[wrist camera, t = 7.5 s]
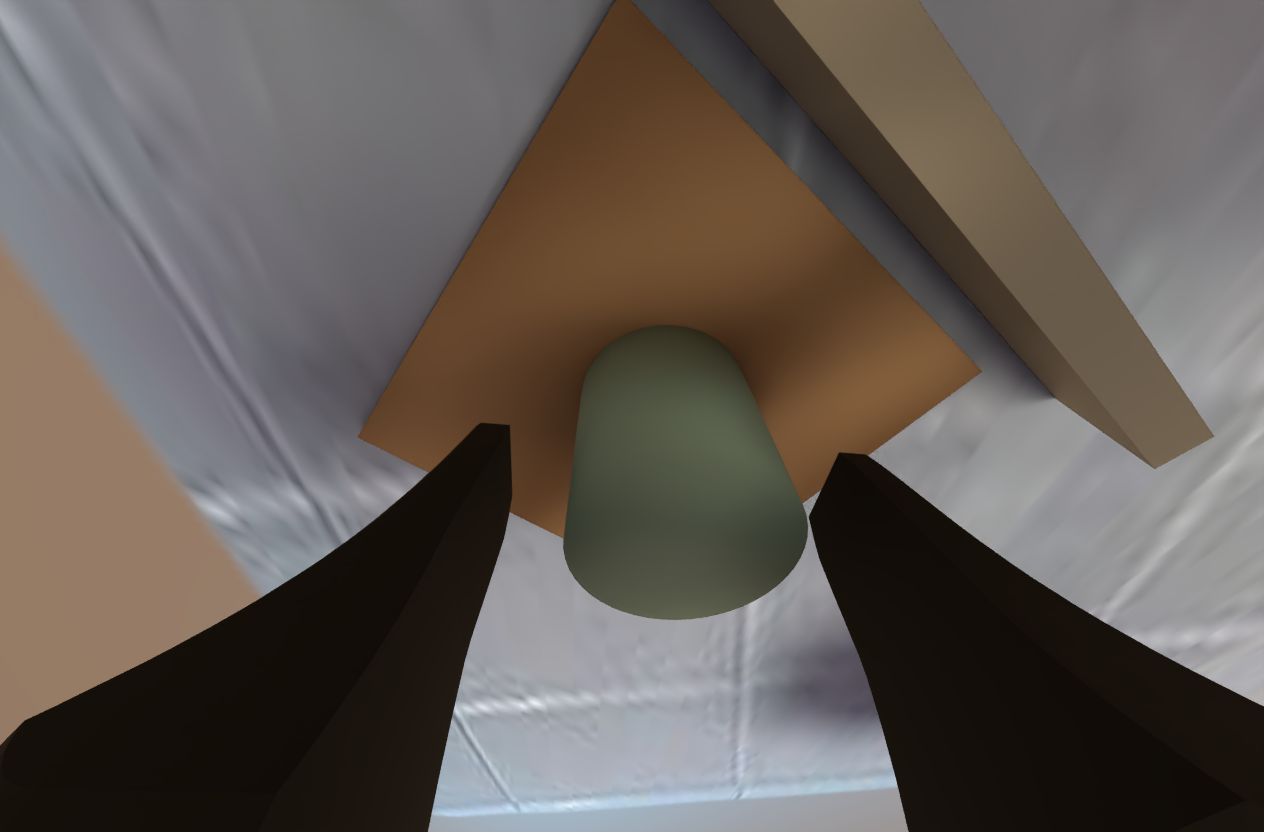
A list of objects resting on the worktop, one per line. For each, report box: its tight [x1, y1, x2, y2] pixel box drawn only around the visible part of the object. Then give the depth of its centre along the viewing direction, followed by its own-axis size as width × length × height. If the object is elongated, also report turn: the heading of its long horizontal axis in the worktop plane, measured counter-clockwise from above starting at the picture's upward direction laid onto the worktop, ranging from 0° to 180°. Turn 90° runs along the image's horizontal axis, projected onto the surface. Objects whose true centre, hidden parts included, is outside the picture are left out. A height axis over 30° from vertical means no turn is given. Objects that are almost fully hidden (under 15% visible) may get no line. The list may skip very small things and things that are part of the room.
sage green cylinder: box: [563, 325, 808, 620], centre depth 11 cm, size 4×4×5 cm
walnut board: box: [358, 0, 982, 538], centre depth 13 cm, size 12×12×1 cm
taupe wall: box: [708, 0, 1214, 469], centre depth 9 cm, size 18×1×3 cm, turn 51°
